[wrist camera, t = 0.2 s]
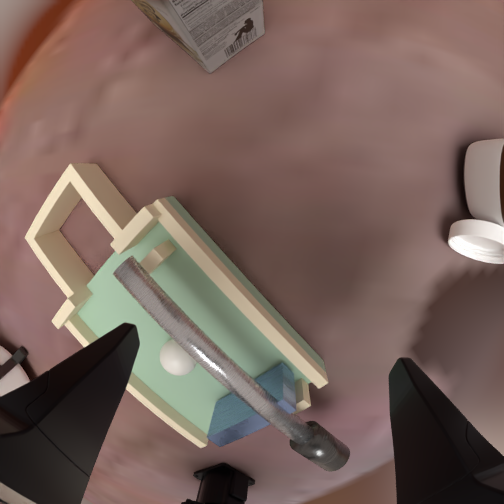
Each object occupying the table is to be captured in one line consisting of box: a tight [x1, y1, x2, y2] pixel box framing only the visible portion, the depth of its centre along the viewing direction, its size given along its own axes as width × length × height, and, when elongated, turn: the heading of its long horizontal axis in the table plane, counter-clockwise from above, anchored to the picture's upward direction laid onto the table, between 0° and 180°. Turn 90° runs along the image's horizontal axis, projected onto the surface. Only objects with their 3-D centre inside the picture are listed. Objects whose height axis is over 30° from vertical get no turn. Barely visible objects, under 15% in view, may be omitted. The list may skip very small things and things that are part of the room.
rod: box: [113, 255, 350, 471], centre depth 21 cm, size 8×24×6 cm, turn 41°
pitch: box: [25, 163, 328, 448], centre depth 23 cm, size 16×28×5 cm, turn 41°
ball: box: [160, 339, 197, 376], centre depth 23 cm, size 3×3×3 cm
